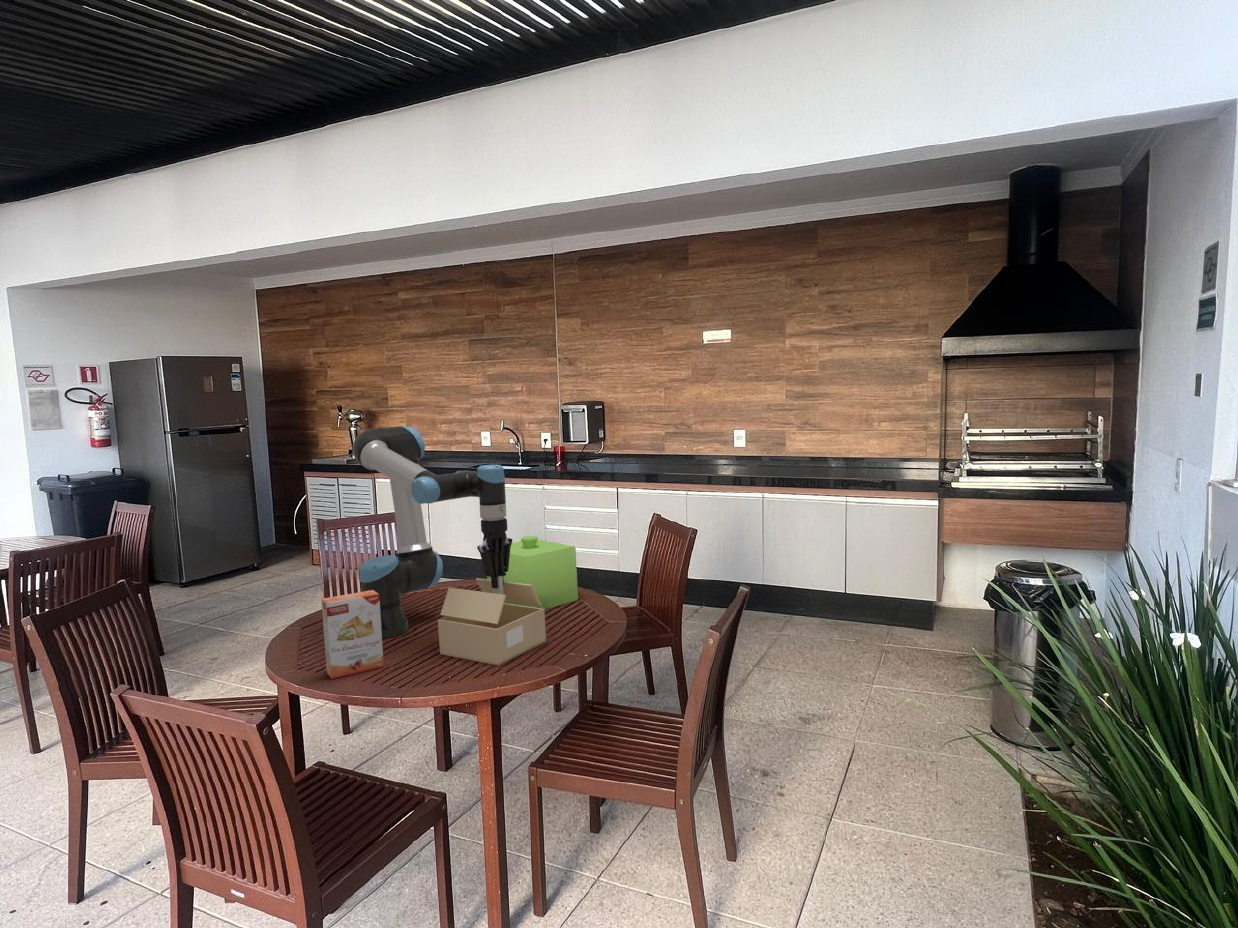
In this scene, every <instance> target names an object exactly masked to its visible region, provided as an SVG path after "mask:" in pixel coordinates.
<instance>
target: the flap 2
mask: <svg viewBox="0 0 1238 928" xmlns="http://www.w3.org/2000/svg"><path fill="white" fill-rule="evenodd" d="M475 580H476V583H477V585H478V586H479V588H480V589H481V592H487V593H493V588H492V584H491V580H489V579H487V578H478V577H476V578H475ZM503 594H504V595H506V598H505V601H509V602H516V603H524V604H531V605H538V606H541V603H540V601H539V599H538V597H537V595H536V593H535V591H534V588H533V586H532V585H530V584H522V583H513V582H505V581H504V586H503Z"/></svg>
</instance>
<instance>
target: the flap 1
mask: <svg viewBox="0 0 1238 928" xmlns="http://www.w3.org/2000/svg"><path fill="white" fill-rule="evenodd" d="M445 595H446V596H445V598H444V602H443V604H442V608H441V611H440V615H441V616H444V617H447V616H450V617H456V618H462V619H469V620H475V621H481V622H487V623H493V624H498V623H499V619H500V616H501V612H502V608H503V605H504V601H505V598H506V595H502V594H494V593H487V592H482V591H478V590H470V589H463V588H458V587H457V588H454V587H448V589H447V592H446V594H445Z"/></svg>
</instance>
